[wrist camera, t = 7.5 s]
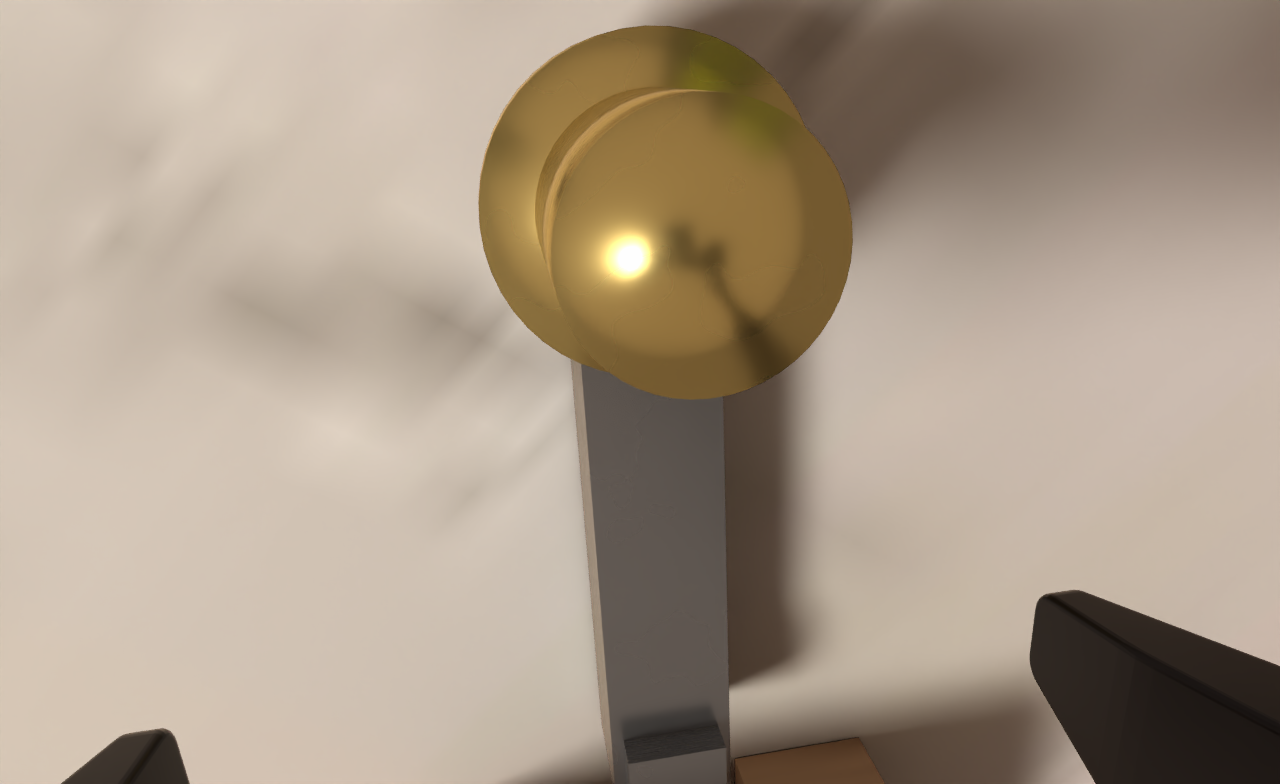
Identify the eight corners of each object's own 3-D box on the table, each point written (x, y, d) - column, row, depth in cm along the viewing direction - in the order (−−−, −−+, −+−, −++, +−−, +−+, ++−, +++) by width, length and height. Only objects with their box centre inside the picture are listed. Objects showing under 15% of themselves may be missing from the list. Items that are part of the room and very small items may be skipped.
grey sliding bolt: (759, 696, 25) (873, 952, 18) (542, 732, 25) (567, 1015, 17) (756, 27, 19) (931, -2, 12) (462, 42, 18) (448, 22, 11)
